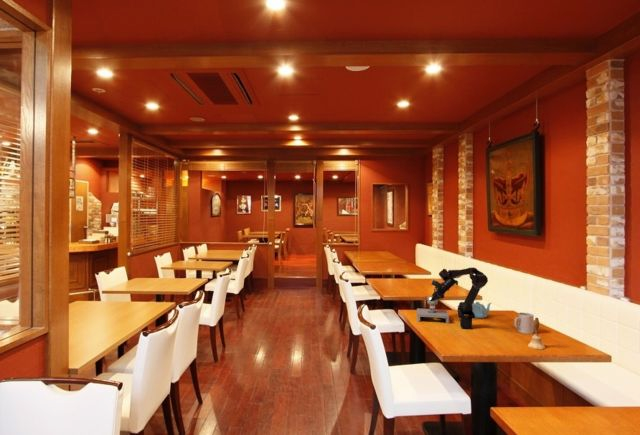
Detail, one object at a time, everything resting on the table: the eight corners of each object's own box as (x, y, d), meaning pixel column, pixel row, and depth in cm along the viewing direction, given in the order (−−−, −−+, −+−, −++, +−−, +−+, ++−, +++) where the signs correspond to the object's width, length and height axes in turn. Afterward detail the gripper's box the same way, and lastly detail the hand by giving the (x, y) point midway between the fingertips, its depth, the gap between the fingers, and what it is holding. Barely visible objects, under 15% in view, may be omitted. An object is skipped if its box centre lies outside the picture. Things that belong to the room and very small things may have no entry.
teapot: (482, 320, 259) (483, 305, 259) (461, 316, 270) (462, 301, 270) (491, 316, 269) (492, 302, 269) (471, 312, 280) (471, 298, 280)
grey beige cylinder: (436, 308, 263) (436, 295, 263) (437, 311, 257) (437, 297, 257) (427, 308, 264) (427, 295, 264) (427, 310, 258) (427, 297, 258)
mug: (526, 329, 239) (526, 312, 239) (536, 333, 231) (537, 315, 231) (509, 330, 237) (510, 313, 237) (519, 334, 228) (519, 316, 228)
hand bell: (524, 344, 211) (524, 316, 211) (538, 344, 212) (538, 315, 212) (534, 349, 203) (534, 320, 203) (548, 349, 204) (549, 319, 204)
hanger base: (446, 317, 266) (446, 310, 266) (448, 323, 251) (448, 316, 251) (416, 315, 271) (416, 308, 271) (417, 321, 255) (417, 314, 255)
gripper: (438, 274, 268) (421, 288, 271) (439, 278, 250) (421, 293, 253) (449, 285, 266) (433, 300, 269) (451, 290, 248) (433, 306, 251)
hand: (430, 299), depth 261 cm, fingers closed on grey beige cylinder, 6 cm apart
